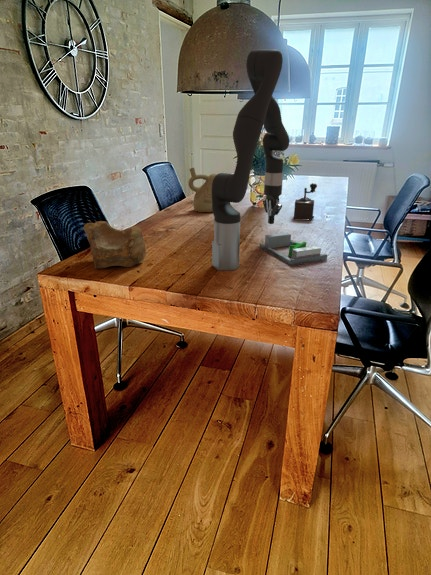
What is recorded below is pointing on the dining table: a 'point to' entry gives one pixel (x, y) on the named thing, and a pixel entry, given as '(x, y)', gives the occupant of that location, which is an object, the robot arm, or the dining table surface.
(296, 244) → the pipe clamp
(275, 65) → the robot arm
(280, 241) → the block
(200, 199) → the ceramic vessel
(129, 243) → the rough brown rock
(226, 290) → the dining table surface
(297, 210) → the manual coffee grinder
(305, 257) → the vise
